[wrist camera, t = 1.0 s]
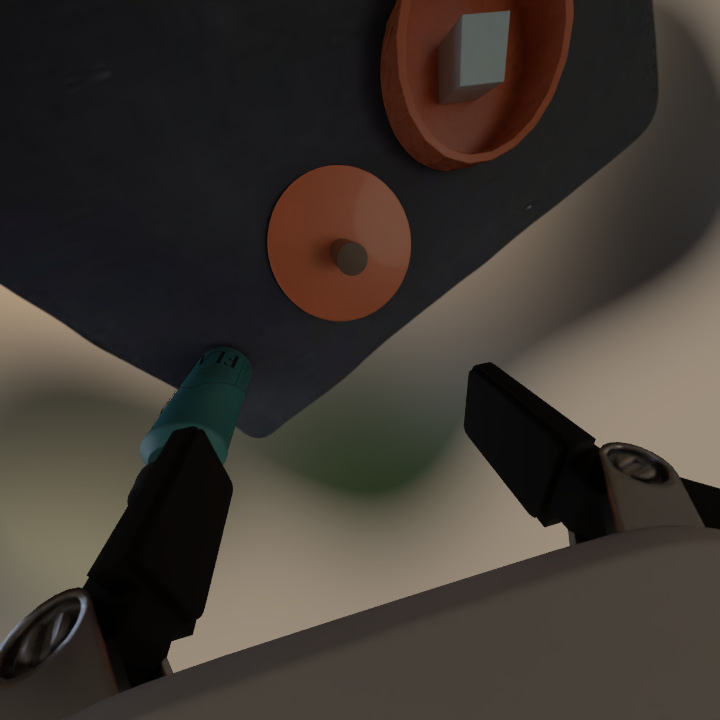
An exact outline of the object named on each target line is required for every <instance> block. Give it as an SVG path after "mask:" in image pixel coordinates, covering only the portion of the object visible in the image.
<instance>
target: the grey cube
mask: <svg viewBox="0 0 720 720" xmlns="http://www.w3.org/2000/svg"><path fill="white" fill-rule="evenodd" d="M509 19H510V11H499V12H488V13H476V14H464V15H462V16H461V17H460V18H459V19H458V21H457V22H456V23H455V24H454V26H453V27H452V28H451V29H450V31H449V32H448V33H447V34H446V36H445V37H444V38H443V40H442V41H441V42H440V43H439V45H438V104H439V105H440V104H448V103H457V102H465V101H473V100H477V99H479V98H480V97H482V96H483V95H485V94H486V93H488V92H489V91H491V90H492V89H494V88H495V87H496V86H498V85H499V84H501V83H502V82H504V77H505V65H506V54H507V42H508V31H509Z"/></svg>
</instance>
